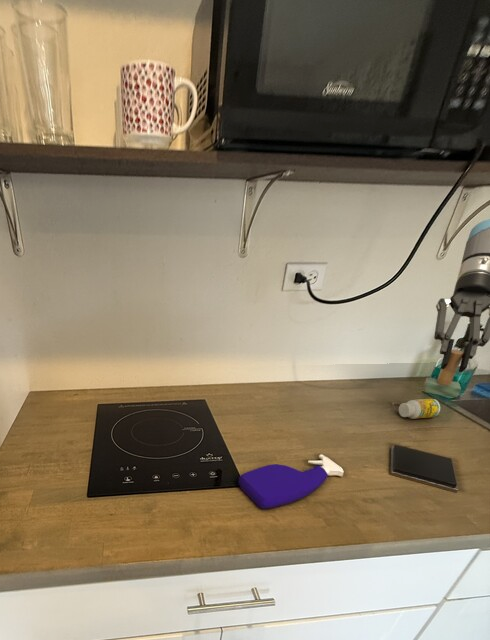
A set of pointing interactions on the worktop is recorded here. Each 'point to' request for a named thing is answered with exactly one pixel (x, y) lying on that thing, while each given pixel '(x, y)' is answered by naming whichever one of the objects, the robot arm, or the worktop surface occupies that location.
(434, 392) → the brush
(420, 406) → the supplement bottle
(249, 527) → the worktop surface
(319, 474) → the spray bottle
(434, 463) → the flat black square slab
